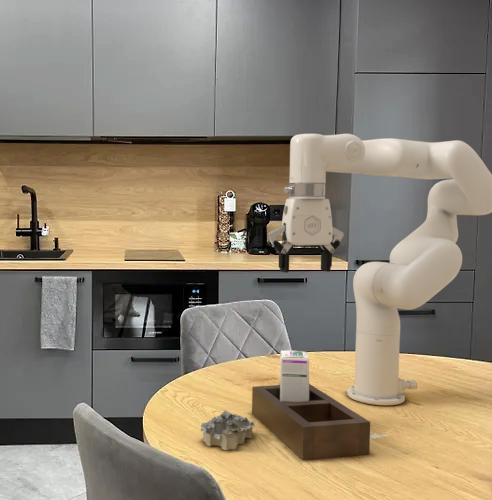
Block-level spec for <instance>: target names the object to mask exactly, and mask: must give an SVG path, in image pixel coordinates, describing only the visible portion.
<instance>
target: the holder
mask: <svg viewBox="0 0 492 500" xmlns="http://www.w3.org/2000/svg"><path fill="white" fill-rule="evenodd" d="M251 392H252V393H251V414H252V416H253V417H254V418H255V419H257V420H258V421H259V422H260V423H261V424H262V425H263V426H265V428H267V429H268V430H269V431H270V432H271V433H272V434H273V435H274V436H275V437H277V438H278V440H280V441H281V442H282V443H283V444H284V445H286V446H287V447H288V449H290V450H291V451H292V452H293V453H294V454H295V455H296V456H298V458H300V459H301V460H302V461H308V460H317V459H319V460H320V459H331V458H343V457H351V456H353V457H354V456H366V455H370V451H371V450H370V448H371V447H370V445H371V421H370V420H368V419H367V418H365V417H363V416H361V415H360V414H359V413H357V412H355V411H353V410H352V409H350V408H349V407H347V406H346V405H344V404H342V403H341V402H339V401H338V400H336V399H334V398H333V397H331V396H330V395H328V394H327V393H325V392H324V391H322V390H320V389H318V388H317V387H315V386H314V385H312V384H311V383H309V401H301V402H286V403H283V402H281V401H280V384H275V385H259V386H258V385H257V386H252V391H251Z"/></svg>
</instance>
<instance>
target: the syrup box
mask: <svg viewBox="0 0 492 500" xmlns="http://www.w3.org/2000/svg"><path fill="white" fill-rule="evenodd" d="M309 384H310V359H309V352H308V351H306V350H305V351H304V350H295V349H294V350H293V349H292V350H291V349H290V350H289V349H288V350H287V349H286V350H280V355H279V385H280V401H281V402H283V403H286V402H301V401H309Z"/></svg>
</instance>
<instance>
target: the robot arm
mask: <svg viewBox="0 0 492 500" xmlns="http://www.w3.org/2000/svg"><path fill="white" fill-rule="evenodd" d="M289 144H290V145H289V183H288V185H287V186H284V187H283V189H282V190H283V193H284V194H287V196H288V198H286V200H285V204H284V208H283V212H282V213H283V214H282V220H281V225H280V226H278V227H276V228H274V229H272V230H271V231H269V232H267V237H268V239H269V242H270V245H271V246H272V247H273V249H274V250H275V251H276V253H278V268H279V271H280V272H282V273H289V272H290V254H289V253H288V252H289V250H290V249H291V248H292V247H293V246H319V247H320V248H321V250H323V251H322V252H321V253H320V271H323V272H328V273H329V272H331V268H332V267H333V254H334V253H335V252H336V250H337V248H338V247H339V246H340V245H341V242H342V239H343V238H344V236H345V233H344V232H343V231H341V230H339V229H338V228H337V227H334V226H333V215H332V208H331V203H330V199H329V198H326V181H327V180H326V177H327V173H328V172H329V173H338V174H339V173H340V174H355V175H356V174H357V175H366V176H376V177H394V178H408V179H418V180H440V181H438V182H436V183H435V184H433V186H432V187H431V188H430V190H429V193H428V194H427V212H426V213H427V214H426V218H425V220H424V221H423V223H422V224H421V225H420V226H418V227H417V228H416V229H414V230H413V231H412V232H411V233H409V235H407V236H406V237H404V238H403V239H402V240H400V241H399V242H398V243H397V244H396V245H395V246H394V247H392V250H391V252H390V254H389V262H386V261H368V262H366V263H364V264H362V265H360V266H359V267H358V268H357V270H356V271H355V273H354V275H353V279H352V281H353V282H352V287H353V288H352V289H353V295H354V301H355V310H356V311H355V313H356V319H355V320H356V323H355V325H356V326H355V327H356V328H355V351H354V353H355V354H354V384H353V385H350V386H349V387H348V388H347V389H346V395H347V396H348V397H349V398H350V399H352V400H354V401H357V402H359V403H363V404H368V405H374V406H396V405H397V406H398V405H400V404H403V403H404V402H405V401H406V395H405V393H403V391H405V390H416V389H417V388H418V382H417V381H416V380H413V379H412V380H405V379H404V378H399V374H400V373H399V372H400V371H399V370H400V346H401V345H400V343H401V318H400V314H399V311H398V309H401V310H406V311H407V310H408V311H409V310H410V311H411V310H415V309H418V308H420V307H421V306H423V305H425V304H426V303H427V302H428V301H430V300H431V299H432V298H433V297H434V296H436V295H437V294H438V293H439V292H441V291H442V290H443V289H444V288H445V287H446V286H448V285H449V284H450V283H452V281H453V280H454V279H455V278H456V277H457V276H458V274H459V272H460V270H461V267H462V264H463V253H462V250H461V249H460V247H459V246H458V244H456V243H457V241H458V239H459V229H458V221H457V220H458V218H457V216H485V215H489V214H491V213H492V172H491V171H490V170H489V168H488V167H487V165H486V164H485V163H484V161H483V160H482V159H481V157H480V156H479V154H478V153H477V152H476V151H475V149H474V148H472V147H471V145H469V144H468V143H466V142H465V141H464V140H463V141H462V140H459V139H458V140H456V139H455V140H446V141H438V142H436V141H435V142H428V141H420V140H412V139H411V140H409V139H401V138H394V137H393V138H391V137H389V138H374V139H367V140H363V139H361V138H359V136H357V135H356V134H355V135H354V134H352V133H339V134H325V135H323V134H321V133H300V134H295V135H294V136H292V137H291V138H290V143H289ZM278 236H281V242H280V241H279V240H278ZM333 236H334V237H333Z"/></svg>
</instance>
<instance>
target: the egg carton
mask: <svg viewBox="0 0 492 500" xmlns="http://www.w3.org/2000/svg"><path fill="white" fill-rule="evenodd" d="M255 423H256V421H255V420H254V419H253V420H251V421H250V420H249V419H248V417H247V416H245V417H243V416H241V415H238V414H236V413H234V414H233V413H232V412H230V411H227V410H223V412H222V413H220V414H219V415H217V416H213V418H212V419H210V420H207V422H202V423H201V425H200V431H201V432H202V441H203V442H204V443H205V445H206V446H208V447H212V446H218V447H221V450H222V451H223V450H224V451H228V450H237V449H238V445H243V444H244V443H245V441H246V439H252V438H253V429H254V427H255V425H256V424H255Z"/></svg>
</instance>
